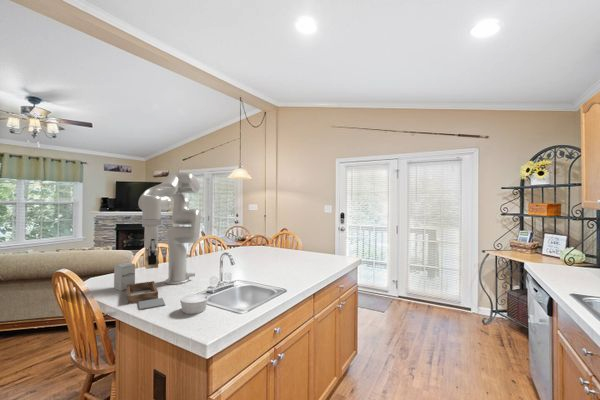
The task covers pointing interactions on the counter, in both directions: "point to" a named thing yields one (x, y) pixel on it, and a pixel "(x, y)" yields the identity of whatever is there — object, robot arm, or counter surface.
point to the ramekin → (194, 303)
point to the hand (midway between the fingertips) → (151, 262)
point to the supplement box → (124, 275)
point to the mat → (151, 303)
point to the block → (147, 260)
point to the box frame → (142, 296)
